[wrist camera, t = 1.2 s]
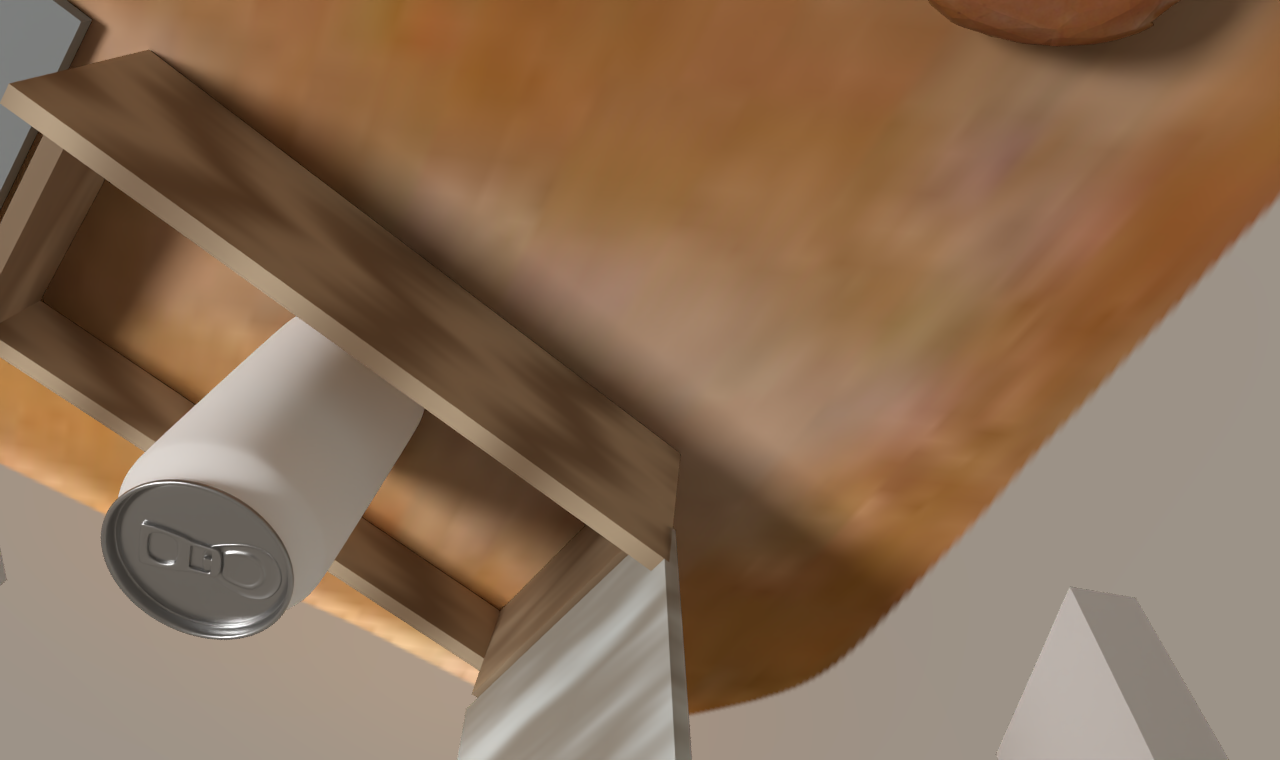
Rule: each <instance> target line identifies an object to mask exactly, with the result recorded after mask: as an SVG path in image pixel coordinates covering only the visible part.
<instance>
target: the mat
mask: <svg viewBox="0 0 1280 760" xmlns="http://www.w3.org/2000/svg"><path fill="white" fill-rule="evenodd" d="M91 21H92V19H90V18H89V17H88V16H87V15H85V14H84V13H83V12H81V11H80V10H79V9H77V8H76V7H75V6H73V5H72V4H71V3H69V2H68V1H67V0H0V102H1V100H2V97H3V95H4V93H5V91H6V89H7V87H8V84H9V83H13V82H17V81H22V80H26V79H30V78H34V77H38V76H42V75H46V74H51V73H55V72H59V71H63V70H67V69H69V67H70V65H71V63H72V60H73V58H74V56H75V54H76V52H77V50H78V48H79V46H80V44H81V42H82V40H83V38H84V36H85V34H86V31H87V29H88V27H89V25H90V23H91ZM37 133H38V130H36V129H35V128H34V127H32V126H31V125H29V124H28V123H27V122H25V121H24V120H22V119H21V118H20V117H18V116H17V115H15V114H14V113H13V112H11V111H10V110H8V109H7V108H6V107H4V106H3V105H2V104H0V209H1V207H2V205H3V203H4V201H5V199H6V197H7V195H8V193H9V191H10V189H11V187H12V185H13V183H14V181H15V178H16V176H17V174H18V172H19V170H20V168H21V166H22V164H23V162H24V160H25V158H26V156H27V154H28V152H29V149H30V147H31V145H32V143H33V141H34V139H35V137H36V135H37Z"/></svg>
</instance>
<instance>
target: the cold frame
mask: <svg viewBox="0 0 1280 760" xmlns="http://www.w3.org/2000/svg"><path fill="white" fill-rule="evenodd" d="M0 104H2V105H3V106H4V107H6V108H7V109H8V110H10V111H11V112H13V113H14V114H15V115H17V116H18V117H20V118H21V119H22V120H24V121H25V122H27V123H28V124H29V125H31V126H32V127H34V128H35V129H36V130H38V131H39V132H41V133H42V134H43V137H42V139H41V141H40V143H39V145H38V147H37V149H36V151H35V153H34V155H33V157H32V159H31V161H30V163H29V165H28V168H27V170H26V172H25V174H24V176H23V178H22V180H21V182H20V184H19V186H18V188H17V190H16V192H15V194H14V196H13V198H12V200H11V202H10V204H9V207H8V209H7V211H6V213H5V215H4V217H3V219H2V221H1V223H0V357H1V358H2V359H4V360H5V361H7V362H8V363H10V364H12V365H13V366H15V367H16V368H18V369H19V370H21V371H22V372H24V373H25V374H27V375H28V376H30V377H31V378H33V379H34V380H36V381H37V382H39V383H41V384H42V385H44V386H45V387H47V388H48V389H50V390H51V391H53V392H54V393H56V394H57V395H59V396H60V397H62V398H63V399H65V400H67V401H68V402H70V403H71V404H73V405H74V406H76V407H77V408H79V409H80V410H82V411H83V412H85V413H86V414H88V415H89V416H91V417H92V418H94V419H96V420H97V421H99V422H100V423H102V424H103V425H105V426H106V427H108V428H109V429H111V430H112V431H114V432H115V433H117V434H118V435H120V436H122V437H123V438H125V439H126V440H128V441H129V442H131V443H132V444H134V445H135V446H137V447H138V448H140V449H141V450H143V451H144V452H146V451H147V450H148V449H149V448H150V447H151V446H152V445H153V444H154V443H155V442H156V441H157V440H158V439H159V438H161V437H162V436H163V435H164V434H165V433H166V432H167V431H168V430H169V429H170V428H171V427H172V426H173V425H174V424H176V423H177V422H178V421H179V420H180V419H181V418H182V417H183V416H184V415H185V414H186V413H187V412H189V411H190V410H191V409H192V408H193V407H194V406H195V405H194V404H193V403H191V402H190V401H188V400H187V399H185V398H184V397H183V396H181V395H180V394H178V393H177V392H175V391H174V390H172V389H171V388H169V387H168V386H166V385H165V384H163V383H162V382H160V381H159V380H157V379H156V378H154V377H153V376H151V375H150V374H148V373H147V372H146V371H144V370H143V369H141V368H140V367H138V366H137V365H135V364H134V363H132V362H131V361H129V360H128V359H126V358H125V357H123V356H122V355H120V354H119V353H117V352H116V351H114V350H113V349H111V348H110V347H109V346H107V345H106V344H104V343H103V342H101V341H100V340H98V339H97V338H95V337H94V336H92V335H91V334H89V333H88V332H86V331H85V330H83V329H82V328H80V327H79V326H77V325H76V324H74V323H73V322H72V321H70V320H69V319H67V318H66V317H64V316H63V315H61V314H60V313H58V312H57V311H55V310H54V309H52V308H51V307H49V306H48V305H46V304H45V303H43V302H42V301H40V300H41V298H42V296H43V295H44V293H45V291H46V289H47V287H48V285H49V283H50V281H51V280H52V278H53V276H54V274H55V272H56V270H57V268H58V266H59V265H60V263H61V261H62V259H63V257H64V255H65V253H66V251H67V250H68V248H69V246H70V244H71V242H72V240H73V238H74V236H75V235H76V233H77V231H78V229H79V227H80V225H81V223H82V221H83V220H84V218H85V216H86V214H87V212H88V210H89V208H90V207H91V205H92V203H93V201H94V199H95V197H96V195H97V193H98V192H99V190H100V188H101V186H102V184H103V182H104V180H105V179H106V180H107V181H109V182H110V183H112V184H113V185H114V186H116V187H117V188H118V189H120V190H121V191H123V192H124V193H125V194H127V195H128V196H130V197H131V198H132V199H134V200H135V201H137V202H138V203H139V204H141V205H142V206H144V207H145V208H146V209H148V210H149V211H150V212H152V213H153V214H155V215H156V216H157V217H159V218H160V219H162V220H163V221H164V222H166V223H167V224H169V225H170V226H171V227H173V228H174V229H176V230H177V231H178V232H180V233H181V234H183V235H184V236H185V237H187V238H188V239H189V240H191V241H192V242H194V243H195V244H196V245H198V246H199V247H201V248H202V249H203V250H205V251H206V252H208V253H209V254H210V255H212V256H213V257H215V258H216V259H217V260H219V261H220V262H222V263H223V264H224V265H226V266H227V267H228V268H230V269H231V270H233V271H234V272H235V273H237V274H238V275H240V276H241V277H242V278H244V279H245V280H247V281H248V282H249V283H251V284H252V285H254V286H255V287H256V288H258V289H259V290H260V291H262V292H263V293H265V294H266V295H267V296H269V297H270V298H272V299H273V300H274V301H276V302H277V303H279V304H280V305H281V306H283V307H284V308H286V309H287V310H288V311H290V312H291V313H293V314H294V315H295V316H297V317H298V318H299V319H301V320H302V321H304V322H305V323H306V324H308V325H309V326H311V327H312V328H313V329H315V330H316V331H318V332H319V333H320V334H322V335H323V336H325V337H326V338H327V339H329V340H330V341H331V342H333V343H334V344H336V345H337V346H338V347H340V348H341V349H343V350H344V351H345V352H347V353H348V354H350V355H351V356H352V357H354V358H355V359H357V360H358V361H359V362H361V363H362V364H364V365H365V366H366V367H368V368H369V369H370V370H372V371H373V372H375V373H376V374H377V375H379V376H380V377H382V378H383V379H384V380H386V381H387V382H389V383H390V384H391V385H393V386H394V387H396V388H397V389H398V390H400V391H401V392H403V393H404V394H405V395H407V396H408V397H409V398H411V399H412V400H414V401H415V402H416V403H418V404H419V405H421V406H422V407H423V408H425V409H426V410H428V411H429V412H430V413H432V414H433V415H435V416H436V417H437V418H439V419H440V420H441V421H443V422H444V423H446V424H447V425H448V426H450V427H451V428H453V429H454V430H455V431H457V432H458V433H460V434H461V435H462V436H464V437H465V438H467V439H468V440H469V441H471V442H472V443H474V444H475V445H476V446H478V447H479V448H480V449H482V450H483V451H485V452H486V453H487V454H489V455H490V456H492V457H493V458H494V459H496V460H497V461H499V462H500V463H501V464H503V465H504V466H506V467H507V468H508V469H510V470H511V471H512V472H514V473H515V474H517V475H518V476H519V477H521V478H522V479H524V480H525V481H526V482H528V483H529V484H531V485H532V486H533V487H535V488H536V489H538V490H539V491H540V492H542V493H543V494H545V495H546V496H547V497H549V498H550V499H551V500H553V501H554V502H556V503H557V504H558V505H560V506H561V507H563V508H564V509H565V510H567V511H568V512H570V513H571V514H572V515H574V516H575V517H577V518H578V519H579V520H581V521H582V522H584V523H585V524H586V526H585V527H584V528H583V529H582V530H581V531H580V532H579V533H578V534H577V535H576V536H575V537H574V538H573V539H572V540H571V541H570V542H569V543H568V544H567V545H566V546H565V547H564V548H563V549H562V550H561V551H560V552H559V553H558V554H557V555H556V556H555V557H554V558H553V559H552V560H551V561H550V562H549V563H548V564H547V565H546V566H545V567H544V568H543V569H542V570H541V571H540V572H539V573H538V574H537V575H536V576H535V577H534V578H533V579H532V580H531V581H530V582H529V583H528V584H527V585H526V586H525V587H524V588H523V589H522V590H521V591H520V592H519V593H518V594H517V595H516V596H515V597H514V598H513V599H512V600H511V601H510V602H509V603H508V604H507V605H506V606H505V607H504V608H503V609H502V610H501V611H499V610H498V609H496V608H495V607H493V606H492V605H490V604H489V603H487V602H486V601H484V600H483V599H482V598H480V597H479V596H477V595H476V594H474V593H473V592H471V591H470V590H468V589H467V588H465V587H464V586H462V585H461V584H459V583H458V582H456V581H455V580H453V579H452V578H450V577H449V576H447V575H446V574H445V573H443V572H442V571H440V570H439V569H437V568H436V567H434V566H433V565H431V564H430V563H428V562H427V561H425V560H424V559H422V558H421V557H419V556H418V555H416V554H415V553H413V552H412V551H410V550H409V549H408V548H406V547H405V546H403V545H402V544H400V543H399V542H397V541H396V540H394V539H393V538H391V537H390V536H388V535H387V534H385V533H384V532H382V531H381V530H379V529H378V528H376V527H375V526H373V525H372V524H371V523H369V522H368V521H366V520H365V519H363V518H362V517H361V519H360V520H359V522H358V524H357V525H356V527H355V528H354V530H353V531H352V533H351V535H350V536H349V538H348V539H347V541H346V543H345V544H344V546H343V547H342V549H341V550H340V552H339V554H338V555H337V557H336V558H335V560H334V561H333V563H332V565H331V566H330V568H329V569H328V572H329V573H331V574H332V575H334V576H335V577H337V578H338V579H340V580H342V581H343V582H345V583H346V584H348V585H349V586H351V587H352V588H354V589H355V590H357V591H358V592H360V593H361V594H363V595H364V596H366V597H367V598H369V599H371V600H372V601H374V602H375V603H377V604H378V605H380V606H381V607H383V608H384V609H386V610H387V611H389V612H390V613H392V614H393V615H395V616H397V617H398V618H400V619H401V620H403V621H404V622H406V623H407V624H409V625H410V626H412V627H413V628H415V629H416V630H418V631H419V632H421V633H422V634H424V635H426V636H427V637H429V638H430V639H432V640H433V641H435V642H436V643H438V644H439V645H441V646H442V647H444V648H445V649H447V650H448V651H450V652H452V653H453V654H455V655H456V656H458V657H459V658H461V659H462V660H464V661H465V662H467V663H468V664H470V665H471V666H473V667H474V668H476V669H477V670H479V671H480V672H479V675H478V677H477V680H476V683H475V686H474V689H473V692H472V694H473V695H474V696H476V697H477V699H476V700H475V701H474V702H473V703H472V704H471V705H470V706H469V707H468V708H467V709H466V712H465V718H464V724H463V729H462V735H461V741H460V746H459V752H458V758H457V760H692V754H691V740H690V726H689V712H688V698H687V684H686V669H685V655H684V641H683V627H682V613H681V599H680V585H679V571H678V557H677V543H676V530H674V529H673V522H674V513H675V503H676V494H677V485H678V475H679V466H680V457H681V454H680V453H679V452H677V451H676V450H675V449H674V448H672V447H671V446H670V445H668V444H667V443H666V442H664V441H663V440H662V439H660V438H659V437H658V436H656V435H655V434H654V433H652V432H651V431H650V430H649V429H647V428H646V427H645V426H643V425H642V424H641V423H639V422H638V421H637V420H635V419H634V418H633V417H631V416H630V415H629V414H627V413H626V412H625V411H624V410H622V409H621V408H620V407H618V406H617V405H616V404H614V403H613V402H612V401H610V400H609V399H608V398H606V397H605V396H604V395H602V394H601V393H600V392H599V391H597V390H596V389H595V388H593V387H592V386H591V385H589V384H588V383H587V382H585V381H584V380H583V379H581V378H580V377H579V376H577V375H576V374H575V373H574V372H572V371H571V370H570V369H568V368H567V367H566V366H564V365H563V364H562V363H560V362H559V361H558V360H556V359H555V358H554V357H552V356H551V355H550V354H549V353H547V352H546V351H545V350H543V349H542V348H541V347H539V346H538V345H537V344H535V343H534V342H533V341H531V340H530V339H529V338H528V337H526V336H525V335H524V334H522V333H521V332H520V331H518V330H517V329H516V328H514V327H513V326H512V325H510V324H509V323H508V322H506V321H505V320H504V319H503V318H501V317H500V316H499V315H497V314H496V313H495V312H493V311H492V310H491V309H489V308H488V307H487V306H485V305H484V304H483V303H481V302H480V301H479V300H478V299H476V298H475V297H474V296H472V295H471V294H470V293H468V292H467V291H466V290H464V289H463V288H462V287H460V286H459V285H458V284H456V283H455V282H454V281H453V280H451V279H450V278H449V277H447V276H446V275H445V274H443V273H442V272H441V271H439V270H438V269H437V268H435V267H434V266H433V265H431V264H430V263H429V262H428V261H426V260H425V259H424V258H422V257H421V256H420V255H418V254H417V253H416V252H414V251H413V250H412V249H410V248H409V247H408V246H406V245H405V244H404V243H403V242H401V241H400V240H399V239H397V238H396V237H395V236H393V235H392V234H391V233H389V232H388V231H387V230H385V229H384V228H383V227H381V226H380V225H379V224H378V223H376V222H375V221H374V220H372V219H371V218H370V217H368V216H367V215H366V214H364V213H363V212H362V211H360V210H359V209H358V208H356V207H355V206H354V205H353V204H351V203H350V202H349V201H347V200H346V199H345V198H343V197H342V196H341V195H339V194H338V193H337V192H335V191H334V190H333V189H331V188H330V187H329V186H328V185H326V184H325V183H324V182H322V181H321V180H320V179H318V178H317V177H316V176H314V175H313V174H312V173H310V172H309V171H308V170H306V169H305V168H304V167H303V166H301V165H300V164H299V163H297V162H296V161H295V160H293V159H292V158H291V157H289V156H288V155H287V154H285V153H284V152H283V151H281V150H280V149H279V148H278V147H276V146H275V145H274V144H272V143H271V142H270V141H268V140H267V139H266V138H264V137H263V136H262V135H260V134H259V133H258V132H257V131H255V130H254V129H253V128H251V127H250V126H249V125H247V124H246V123H245V122H243V121H242V120H241V119H239V118H238V117H237V116H235V115H234V114H233V113H232V112H230V111H229V110H228V109H226V108H225V107H224V106H222V105H221V104H220V103H218V102H217V101H216V100H214V99H213V98H212V97H210V96H209V95H208V94H207V93H205V92H204V91H203V90H201V89H200V88H199V87H197V86H196V85H195V84H193V83H192V82H191V81H189V80H188V79H187V78H185V77H184V76H183V75H182V74H180V73H179V72H178V71H176V70H175V69H174V68H172V67H171V66H170V65H168V64H167V63H166V62H164V61H163V60H162V59H160V58H159V57H158V56H157V55H155V54H154V53H153V52H151V51H150V50H146V51H142V52H138V53H134V54H129V55H125V56H121V57H117V58H113V59H109V60H104V61H100V62H96V63H92V64H88V65H84V66H80V67H75V68H71V69H67V70H63V71H59V72H55V73H51V74H46V75H42V76H38V77H34V78H30V79H26V80H22V81H17V82H13V83H9V84H8V87H7V89H6V91H5V93H4V95H3V97H2V100H1V102H0Z"/></svg>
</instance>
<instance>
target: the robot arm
mask: <svg viewBox="0 0 1280 760" xmlns="http://www.w3.org/2000/svg"><path fill="white" fill-rule="evenodd" d="M6 580H7V578H6V574H5V569H4V564H3V560H2V555H1V550H0V585H2V584H3V583H4V582H5V581H6ZM996 755H997V759H998V760H1229V759H1228V757H1227V755H1226V754H1225V752H1224V750H1223V748H1222V747H1221V745H1220V743H1219V741H1218V740H1217V738H1216V736H1215V734H1214V733H1213V731H1212V729H1211V728H1210V726H1209V724H1208V722H1207V721H1206V719H1205V717H1204V715H1203V714H1202V712H1201V710H1200V709H1199V707H1198V705H1197V703H1196V701H1195V700H1194V698H1193V696H1192V695H1191V693H1190V691H1189V690H1188V688H1187V686H1186V684H1185V682H1184V681H1183V679H1182V677H1181V676H1180V674H1179V672H1178V670H1177V668H1176V667H1175V665H1174V663H1173V662H1172V660H1171V658H1170V656H1169V655H1168V653H1167V651H1166V649H1165V648H1164V646H1163V644H1162V642H1161V641H1160V639H1159V637H1158V636H1157V634H1156V632H1155V630H1154V629H1153V627H1152V625H1151V623H1150V622H1149V620H1148V618H1147V616H1146V615H1145V613H1144V611H1143V609H1142V608H1141V606H1140V604H1139V603H1138V601H1137V599H1136V598H1134V597H1128V596H1122V595H1116V594H1110V593H1104V592H1098V591H1093V590H1087V589H1081V588H1076V587H1069V589H1068V592H1067V594H1066V596H1065V598H1064V601H1063V603H1062V605H1061V608H1060V610H1059V612H1058V614H1057V617H1056V619H1055V621H1054V623H1053V626H1052V628H1051V630H1050V633H1049V635H1048V637H1047V639H1046V642H1045V644H1044V646H1043V648H1042V651H1041V653H1040V655H1039V658H1038V660H1037V662H1036V664H1035V667H1034V669H1033V671H1032V673H1031V676H1030V678H1029V680H1028V683H1027V685H1026V687H1025V689H1024V691H1023V694H1022V696H1021V698H1020V701H1019V703H1018V705H1017V707H1016V710H1015V712H1014V714H1013V717H1012V719H1011V721H1010V723H1009V726H1008V728H1007V730H1006V732H1005V734H1004V737H1003V739H1002V741H1001V743H1000V746H999V748H998V750H997V752H996Z"/></svg>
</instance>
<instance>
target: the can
mask: <svg viewBox="0 0 1280 760" xmlns="http://www.w3.org/2000/svg"><path fill="white" fill-rule="evenodd" d="M423 412H424V408H423V407H422V406H421V405H419V404H418V403H416V402H415V401H414V400H412V399H411V398H409V397H408V396H407V395H405V394H404V393H403V392H401V391H400V390H398V389H397V388H396V387H394V386H393V385H391V384H390V383H389V382H387V381H386V380H384V379H383V378H382V377H380V376H379V375H377V374H376V373H375V372H373V371H372V370H370V369H369V368H368V367H366V366H365V365H364V364H362V363H361V362H359V361H358V360H357V359H355V358H354V357H352V356H351V355H350V354H348V353H347V352H345V351H344V350H343V349H341V348H340V347H338V346H337V345H336V344H334V343H333V342H331V341H330V340H329V339H327V338H326V337H325V336H323V335H322V334H320V333H319V332H318V331H316V330H315V329H313V328H312V327H311V326H309V325H308V324H306V323H305V322H304V321H302V320H301V319H299V318H298V317H297V316H296V317H294V318H293V319H291V320H290V321H289V322H287V323H286V324H285V325H284V326H282V327H281V328H280V329H279V330H278V331H276V332H275V333H274V334H273V335H272V336H271V337H270V338H269V339H267V340H266V341H265V342H264V343H263V344H262V345H261V346H260V347H259V348H257V349H256V350H255V351H254V352H253V353H252V354H251V355H250V356H249V357H248V358H246V359H245V360H244V361H243V362H242V363H241V364H240V365H239V366H238V367H237V368H235V369H234V370H233V371H232V372H231V373H230V374H229V375H228V376H227V377H226V378H224V379H223V380H222V381H221V382H220V383H219V384H218V385H217V386H216V387H215V388H214V389H212V390H211V391H210V392H209V393H208V394H207V395H206V396H205V397H204V398H203V399H202V400H200V401H199V402H198V403H197V404H196V405H195V406H194V407H193V408H192V409H191V410H190V411H189V412H187V413H186V414H185V415H184V416H183V417H182V418H181V419H180V420H179V421H178V422H177V423H176V424H174V425H173V426H172V427H171V428H170V429H169V430H168V431H167V432H166V433H165V434H164V435H163V436H162V437H161V438H159V439H158V440H157V441H156V442H155V443H154V444H153V445H152V446H151V447H150V448H149V449H148V450H147V451H146V452H145V453H144V454H143V455H142V456H141V457H140V458H139V459H138V460H137V461H136V463H135V464H134V465H133V466H132V467H131V469H130V470H129V472H128V473H127V475H126V477H125V479H124V481H123V483H122V486H121V489H120V492H119V496H118V499H117V500H116V501H115V502H114V503H113V504H112V505H111V507H110V508H109V510H108V512H107V514H106V516H105V518H104V521H103V524H102V530H101V546H102V552H103V556H104V559H105V562H106V565H107V567H108V569H109V571H110V573H111V575H112V577H113V579H114V580H115V582H116V583H117V585H118V586H119V587H120V589H121V590H122V591H123V592H124V593H125V595H126V596H127V597H128V598H129V599H130V600H131V601H132V602H133V603H134V604H135V605H136V606H138V607H139V608H140V609H141V610H143V611H144V612H145V613H147V614H148V615H149V616H151V617H152V618H154V619H156V620H157V621H159V622H161V623H163V624H164V625H166V626H168V627H171V628H173V629H175V630H178V631H180V632H183V633H186V634H189V635H193V636H197V637H201V638H207V639H217V640H230V639H239V638H244V637H248V636H252V635H255V634H257V633H260V632H262V631H264V630H265V629H267V628H269V627H270V626H271V625H273V624H274V623H275V622H276V621H277V620H278V619H279V618H280V617H281V616H282V615H283V613H284V612H285V611H286V610H288V609H290V608H291V607H293V606H295V605H296V604H298V603H299V602H301V601H302V600H304V599H305V598H306V597H307V596H308V595H309V594H310V593H311V592H312V591H313V590H314V589H315V587H316V586H317V585H318V584H319V582H320V581H321V579H322V578H323V576H324V575H325V574H326V572H327V571H328V569H329V568H330V566H331V565H332V563H333V561H334V560H335V558H336V557H337V555H338V554H339V552H340V550H341V549H342V547H343V546H344V544H345V543H346V541H347V539H348V538H349V536H350V535H351V533H352V531H353V530H354V528H355V527H356V525H357V524H358V522H359V520H360V519H361V517H362V516H363V514H364V512H365V511H366V509H367V508H368V506H369V504H370V503H371V501H372V500H373V498H374V496H375V495H376V493H377V492H378V490H379V488H380V487H381V485H382V484H383V482H384V480H385V479H386V477H387V476H388V474H389V472H390V471H391V469H392V467H393V466H394V464H395V463H396V461H397V459H398V458H399V456H400V455H401V453H402V451H403V450H404V448H405V446H406V445H407V443H408V442H409V440H410V438H411V437H412V435H413V433H414V432H415V430H416V428H417V426H418V425H419V423H420V421H421V418H422V416H423Z"/></svg>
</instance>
